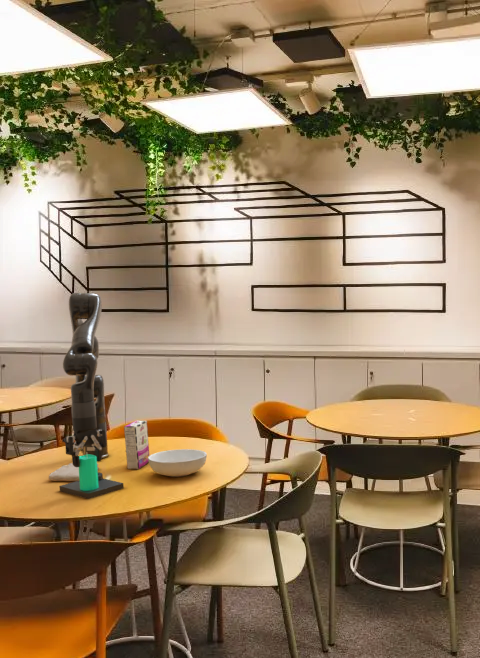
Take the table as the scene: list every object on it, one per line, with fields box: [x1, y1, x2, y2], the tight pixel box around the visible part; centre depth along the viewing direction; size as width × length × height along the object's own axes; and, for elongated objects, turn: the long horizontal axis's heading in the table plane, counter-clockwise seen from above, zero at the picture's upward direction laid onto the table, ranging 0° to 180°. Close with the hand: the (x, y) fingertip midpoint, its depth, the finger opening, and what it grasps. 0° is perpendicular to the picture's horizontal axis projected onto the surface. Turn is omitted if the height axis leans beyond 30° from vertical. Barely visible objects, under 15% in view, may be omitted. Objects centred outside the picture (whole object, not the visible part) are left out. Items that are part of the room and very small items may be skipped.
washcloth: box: [48, 462, 100, 482], centre depth 245 cm, size 12×18×3 cm, turn 172°
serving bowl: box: [148, 448, 207, 478], centre depth 243 cm, size 21×21×7 cm
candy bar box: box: [123, 420, 150, 470], centre depth 256 cm, size 11×5×16 cm, turn 168°
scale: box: [58, 472, 125, 500], centre depth 226 cm, size 16×14×4 cm
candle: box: [78, 454, 99, 491], centre depth 221 cm, size 6×6×12 cm
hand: (87, 464), depth 221 cm, fingers open, 7 cm apart
